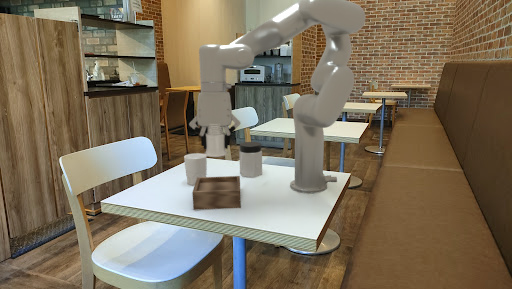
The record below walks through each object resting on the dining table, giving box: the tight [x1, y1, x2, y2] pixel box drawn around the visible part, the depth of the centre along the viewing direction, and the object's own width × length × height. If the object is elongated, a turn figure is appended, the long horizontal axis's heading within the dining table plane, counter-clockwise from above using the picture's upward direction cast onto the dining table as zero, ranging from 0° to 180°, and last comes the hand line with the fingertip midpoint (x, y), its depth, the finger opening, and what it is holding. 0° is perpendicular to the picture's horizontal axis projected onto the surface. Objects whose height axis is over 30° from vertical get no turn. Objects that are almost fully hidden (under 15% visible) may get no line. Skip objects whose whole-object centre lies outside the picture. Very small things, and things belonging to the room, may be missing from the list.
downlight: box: [203, 124, 228, 158], centre depth 109 cm, size 8×7×10 cm
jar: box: [238, 141, 263, 179], centre depth 138 cm, size 9×8×12 cm
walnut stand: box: [191, 175, 242, 211], centre depth 112 cm, size 14×14×6 cm
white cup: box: [183, 152, 208, 187], centre depth 129 cm, size 8×8×10 cm
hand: (215, 147), depth 109 cm, fingers closed on downlight, 5 cm apart
